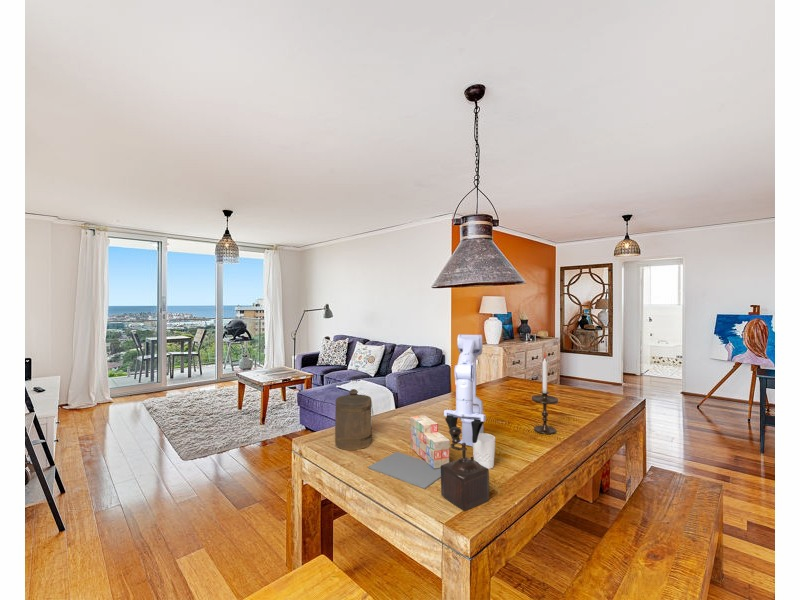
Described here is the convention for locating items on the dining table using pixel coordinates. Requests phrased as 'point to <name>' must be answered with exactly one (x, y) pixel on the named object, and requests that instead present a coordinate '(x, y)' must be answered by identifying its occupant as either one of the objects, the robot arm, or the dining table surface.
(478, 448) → the white cup
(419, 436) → the stack of blocks
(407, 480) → the mat
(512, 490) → the dining table surface
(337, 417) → the wooden container
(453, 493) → the coffee grinder
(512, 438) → the dining table surface
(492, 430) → the dining table surface
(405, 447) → the dining table surface
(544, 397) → the candlestick
